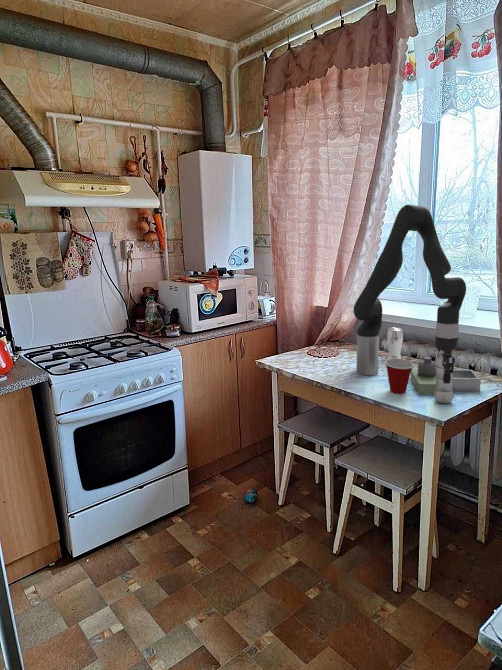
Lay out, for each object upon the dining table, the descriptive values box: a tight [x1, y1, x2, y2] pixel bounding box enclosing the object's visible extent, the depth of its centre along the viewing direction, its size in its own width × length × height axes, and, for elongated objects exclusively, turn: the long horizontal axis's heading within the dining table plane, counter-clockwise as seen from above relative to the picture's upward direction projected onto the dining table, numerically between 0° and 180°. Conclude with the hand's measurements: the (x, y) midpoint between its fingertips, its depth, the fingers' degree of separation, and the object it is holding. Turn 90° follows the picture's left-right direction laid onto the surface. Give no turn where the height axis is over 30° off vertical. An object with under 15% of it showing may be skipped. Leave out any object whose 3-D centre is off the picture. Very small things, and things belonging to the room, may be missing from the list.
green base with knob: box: [409, 356, 436, 395], centre depth 182 cm, size 12×18×11 cm, turn 171°
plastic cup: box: [384, 358, 415, 395], centre depth 178 cm, size 11×11×12 cm
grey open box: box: [452, 369, 482, 392], centre depth 181 cm, size 11×11×5 cm
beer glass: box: [386, 327, 404, 359], centre depth 217 cm, size 7×7×15 cm
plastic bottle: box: [432, 349, 456, 405], centre depth 165 cm, size 6×7×20 cm
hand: (444, 379), depth 165 cm, fingers closed on plastic bottle, 6 cm apart
